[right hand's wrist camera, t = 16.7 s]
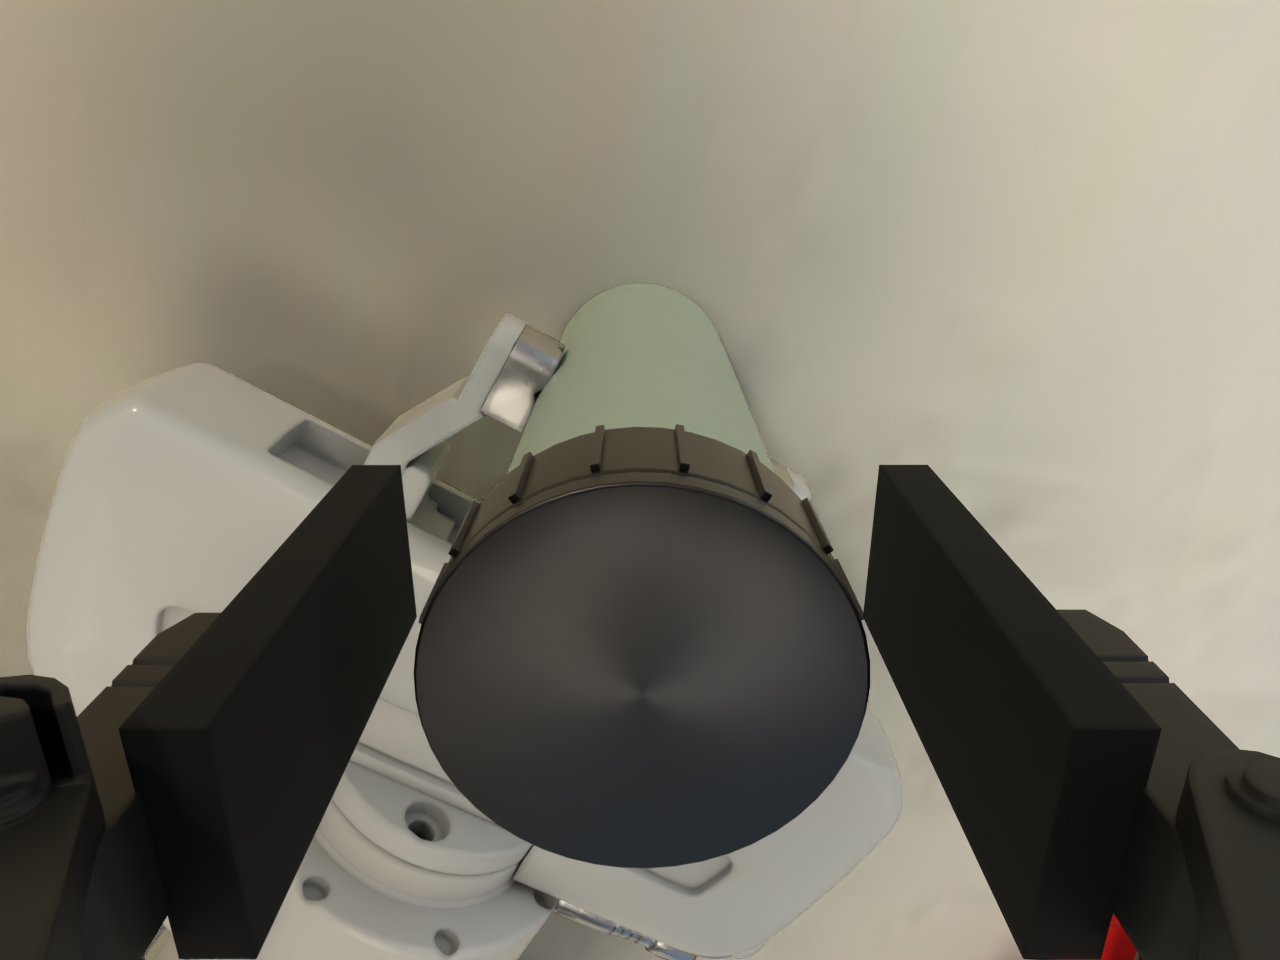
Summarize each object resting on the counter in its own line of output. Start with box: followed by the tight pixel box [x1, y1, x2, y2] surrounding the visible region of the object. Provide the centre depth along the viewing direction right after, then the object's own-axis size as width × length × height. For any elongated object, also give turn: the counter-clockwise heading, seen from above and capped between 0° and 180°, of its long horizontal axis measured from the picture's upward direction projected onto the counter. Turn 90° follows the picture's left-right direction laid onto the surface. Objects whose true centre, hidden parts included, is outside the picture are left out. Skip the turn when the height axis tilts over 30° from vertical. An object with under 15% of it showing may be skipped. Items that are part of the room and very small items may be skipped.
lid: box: [414, 424, 870, 868], centre depth 11 cm, size 6×6×2 cm
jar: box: [507, 283, 776, 474], centre depth 18 cm, size 5×5×15 cm
